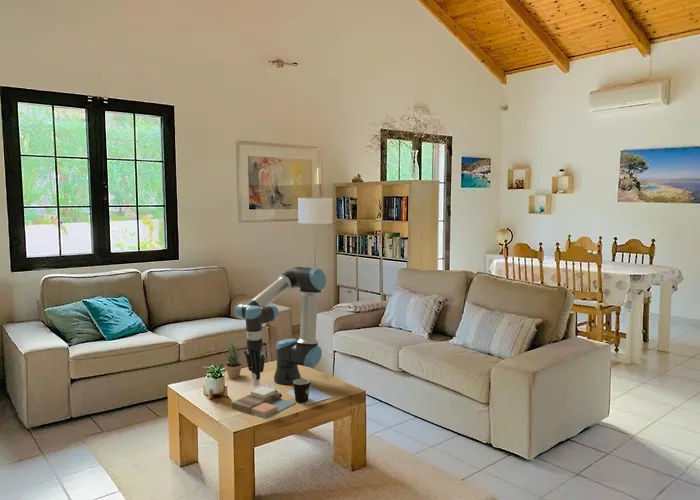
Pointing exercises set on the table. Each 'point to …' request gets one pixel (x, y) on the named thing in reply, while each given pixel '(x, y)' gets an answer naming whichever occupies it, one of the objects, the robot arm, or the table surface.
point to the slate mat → (278, 407)
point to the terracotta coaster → (264, 409)
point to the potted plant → (233, 361)
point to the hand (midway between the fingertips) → (256, 385)
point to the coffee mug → (301, 390)
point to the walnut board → (253, 402)
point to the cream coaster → (263, 392)
